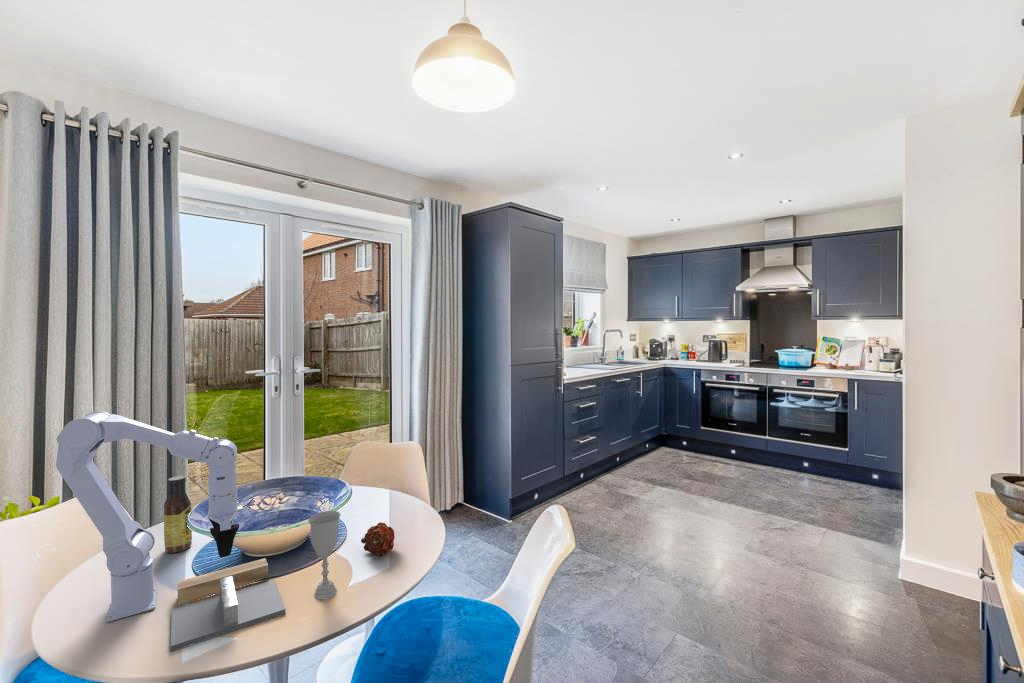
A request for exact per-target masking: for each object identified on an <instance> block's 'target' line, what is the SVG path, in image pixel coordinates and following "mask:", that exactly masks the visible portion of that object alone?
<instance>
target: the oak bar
mask: <svg viewBox="0 0 1024 683" xmlns="http://www.w3.org/2000/svg"><path fill="white" fill-rule="evenodd" d="M267 561H268V560H267V559H266V558H265V557H264V558H261V559H257V560H253V561H250V562H246V563H242V564H239V565H234V566H231V567H227V568H223V569H219V570H216V571H213V572H207V573H205V574H201V575H197V576H194V577H190V578H185V579H181V580H178V581H177V606H178V607H180V606H184V605H187V604H191V603H193V602H195V601H199V600H198V599H200V600H202V598H203V599H206V598H205V597H207V596H210V597H212V596H211V595H213V594H217V593H220V579H223V578H227V577H230V576H232V578H233V583H234V588H237V587H240V586H244V585H247V584H250V583H253V582H255V581H258V580H261V579H263V578H266V577H268V578H269V564H268V562H267ZM244 587H245V586H244ZM217 595H218V594H217ZM207 598H208V597H207Z"/></svg>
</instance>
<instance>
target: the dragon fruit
mask: <svg viewBox="0 0 1024 683" xmlns="http://www.w3.org/2000/svg"><path fill="white" fill-rule="evenodd" d="M394 541H395V531H394V529H393V527H391V526H388V525H387V524H386V523H385V522H378V523H377V524H376V525H374V526H373V525H371V527H369V529H367V531H366V532H365V534H364V537H362V538H361V540H360V543H361V544H364V546H363V550H364V551H365V552H369V553H370V554H372V555H375V556H377V557H378V556H379V557H381V556H384V555H385V554H387V552H389V551H392V550H393V548H394V547H395V544H394Z"/></svg>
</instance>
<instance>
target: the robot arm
mask: <svg viewBox="0 0 1024 683" xmlns="http://www.w3.org/2000/svg"><path fill="white" fill-rule="evenodd" d="M124 439H127V440H131V441H136V442H140V443H144V444H148V445H154V446H158V447H163V448H167V450H168V452H169V453H170V455H172V456H174V457H177V458H181V459H187V460H190V461H193V462H197V463H205V465H206V466H207V467H208V475H207V480H208V481H207V485H208V487H207V488H208V489H207V491H208V496H207V497H208V513H207V518H208V520H209V521H210V523H211V525H212V527H210V528H209V532H210V535H211V536H212V538H213V539H214V541H215V545H216V547H217V553H218V556H219V558H225V557H228V556H231V555H232V550H233V544H234V540H235V537H236V535H237V532H238V531H239V530H240V524H239V523H235V524H232V523H233V520H234V518H235V517H236V515H237V514H238V513H242V512H243V511H244V507H243V505H241V506H240V505H239V506H238V482H237V481H238V479H237V478H238V475H237V472H238V471H237V470H236V469H237V464H236V457H237V455H238V448H237V444H235V442H233V441H231V440H230V439H229V438H221V439H220V438H219V437H216V436H214V437H209V436H205V435H202V434H199V433H197V430H195V429H190V430H182V431H179V432H176V433H174V432H171V431H169V430H165V429H162V428H158V427H156V426H154V425H149V424H146V423H144V422H141V421H137V420H134V419H131V418H128V417H126V416H123V415H119V414H110V413H109V412H106V411H101V410H100V411H98V410H97V411H92V412H89V413H87V414H85V415H84V416H82V417H79V418H76V419H73V420H71V421H69V422H67V424H65V425H64V426H63V428H62V429H61V431H60V433H59V434H58V436H56V438H55V441H56V443H57V444H58V445H57V454H56V462H55V467H56V469H57V471H58V473H59V474H60V475H61V477H62V478H63V480H64V481H65V483H66V485H67V486H68V487H69V488H70V490H71V491H72V494H73V495H74V496H75V498H76V499H77V501H78V502H79V503H80V505H81V507H82V508H83V510H84V511H85V512H86V515H87V516H88V517H89V518H90V520H91V521H92V523H93V525H94V526H95V527H96V529H97V531H98V532H99V534H100V535H101V537H102V551H103V553H104V556H106V567H107V570H108V571H109V572H110V592H111V593H110V595H111V602H110V603H111V604H110V607H109V610H108V615H107V620H106V621H107V622H108V623H109V622H113V621H116V620H120V619H123V618H126V617H131V616H134V615H137V614H141V613H145V612H149V611H151V610H154V609H155V608H156V605H157V596H158V595H157V593H158V587H156V586H155V587H154V560H153V558H152V556H151V555H150V552H151V551H152V550H153V548H154V546H155V542H156V540H155V536H154V534H153V533H152V532H151V531H149V530H147V529H145V528H143V527H142V525H141V524H140V522H138V521H135V520H133V519H131V517H130V516H129V514H128V513H127V511H126V510H125V508H124V507H123V505H122V504H121V502H120V500H119V499H118V498H117V496H116V494H115V493H114V491H113V489H111V487H110V485H109V483H108V482H107V480H106V479H105V478H104V476H103V474H102V473H101V471H100V470H99V468H98V466H97V465H96V464H95V462H94V458H95V455H96V454H97V452H98V450H99V448H100V446H102V444H103V443H104V444H106V443H112V442H114V441H115V442H116V441H119V440H124Z"/></svg>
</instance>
